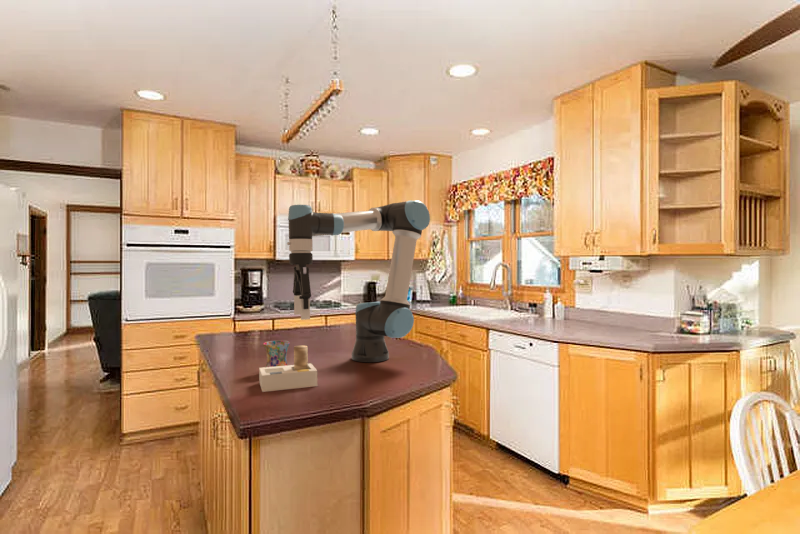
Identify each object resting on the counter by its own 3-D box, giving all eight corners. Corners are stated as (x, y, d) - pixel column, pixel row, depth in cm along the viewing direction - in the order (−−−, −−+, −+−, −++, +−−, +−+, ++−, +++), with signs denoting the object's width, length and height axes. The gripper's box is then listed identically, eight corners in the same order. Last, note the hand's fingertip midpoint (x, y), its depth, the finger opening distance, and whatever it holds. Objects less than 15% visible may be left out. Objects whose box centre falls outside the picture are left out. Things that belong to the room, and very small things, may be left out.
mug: (291, 373, 163) (291, 344, 163) (264, 376, 159) (264, 345, 159) (287, 366, 174) (287, 338, 174) (261, 368, 171) (261, 340, 170)
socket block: (311, 377, 157) (311, 362, 157) (317, 386, 147) (317, 369, 146) (259, 382, 151) (259, 367, 151) (262, 391, 140) (261, 375, 140)
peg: (306, 377, 153) (306, 345, 153) (308, 381, 149) (308, 347, 149) (293, 379, 151) (292, 346, 151) (295, 382, 147) (294, 348, 147)
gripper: (284, 253, 160) (285, 313, 161) (295, 251, 137) (296, 322, 138) (305, 252, 163) (306, 312, 164) (320, 251, 140) (321, 320, 140)
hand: (301, 317), depth 151 cm, fingers open, 13 cm apart
